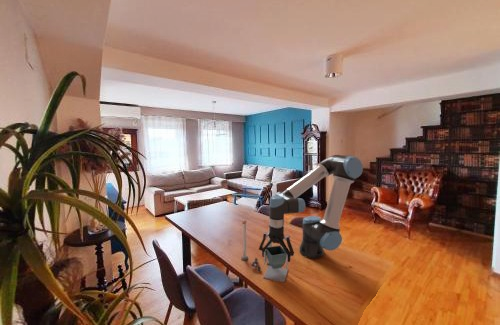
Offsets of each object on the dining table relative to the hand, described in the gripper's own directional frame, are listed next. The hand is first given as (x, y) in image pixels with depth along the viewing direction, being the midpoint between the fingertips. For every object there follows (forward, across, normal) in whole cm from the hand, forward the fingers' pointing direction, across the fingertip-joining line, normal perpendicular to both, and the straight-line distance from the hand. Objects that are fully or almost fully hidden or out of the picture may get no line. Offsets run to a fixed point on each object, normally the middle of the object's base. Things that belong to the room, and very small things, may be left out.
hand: (275, 264), depth 115 cm
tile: (+5, 0, 0) cm, 5 cm away
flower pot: (+1, 0, 0) cm, 1 cm away
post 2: (+5, -5, +9) cm, 12 cm away
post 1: (+6, -21, +9) cm, 24 cm away
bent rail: (+5, -11, +3) cm, 13 cm away
